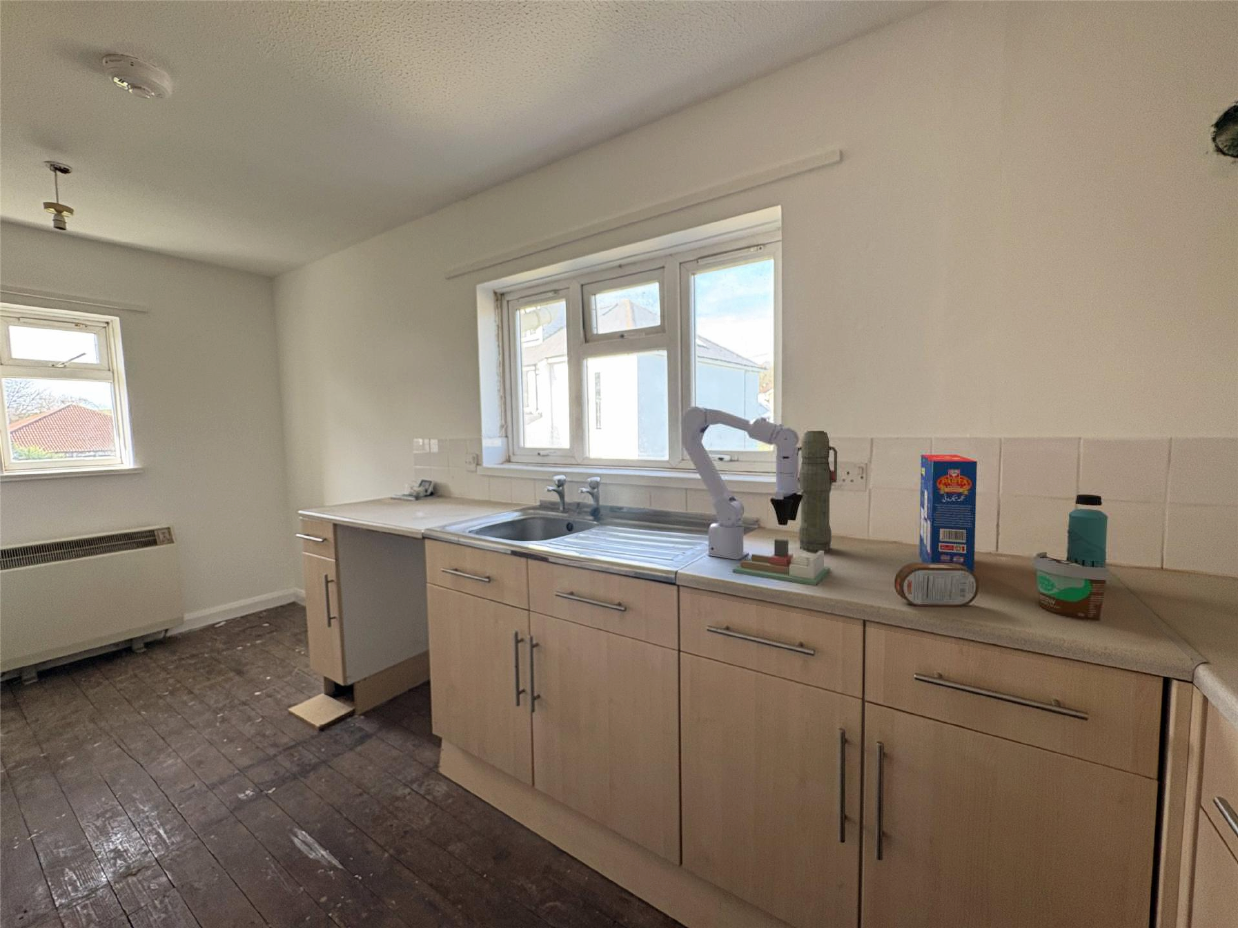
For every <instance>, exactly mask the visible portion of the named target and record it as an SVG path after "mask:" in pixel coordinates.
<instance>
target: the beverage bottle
mask: <svg viewBox="0 0 1238 928" xmlns="http://www.w3.org/2000/svg"><path fill="white" fill-rule="evenodd" d="M1075 498H1076V499H1075V504H1076V505H1081V506H1094V507H1095V506H1097V507H1099V506H1100V507H1101V506H1102V505H1103V502H1102V496H1101V495H1097V494H1085V493H1083V494H1082V493H1081V494H1077V495H1076V497H1075ZM1108 519H1109V515H1107V514H1105V513H1104V512H1103V511H1102V510H1098V509H1093V508H1092V509H1091V508H1076V509H1075V508H1074V509H1073V510H1072V511H1070V512H1069V513H1068V523H1067V527H1068V529H1067V530H1066V531H1067V532H1066V533H1067V535H1066V536H1067V537H1066V538H1067V547H1066V550H1065V551H1066V557H1065V558H1066V559H1065V561H1071V562H1076V563H1079V564H1081V565H1083V566H1086V567H1096V568H1107V566H1106V565H1107V538H1108V537H1107V533H1108Z"/></svg>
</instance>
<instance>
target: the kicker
mask: <svg viewBox="0 0 1238 928" xmlns="http://www.w3.org/2000/svg"><path fill="white" fill-rule="evenodd" d="M773 545H774V547H773V550H774V551H773V552H774V553H773V554H772V555H771V557H770V564H771V565H778V566H785V567H789V565H790V560H791V558H792V557H793V556H794V555H793V553H789V539H782V538H775V539H774V543H773Z"/></svg>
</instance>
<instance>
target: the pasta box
mask: <svg viewBox="0 0 1238 928" xmlns="http://www.w3.org/2000/svg"><path fill="white" fill-rule="evenodd" d="M977 471H978V461H977V460H975V459H971V458H969V457H968V458H967V457H965V456H962V455H959V454H920V490H919V491H920V499H919V500H920V501H919V544H918V545H919V548H918V550H919V551H918V553H919V557H920V559H921V560H920V561H921V563H955V564H960V565H962V566H964V567H965V568H967V569H968V570H970V571H971V572H973V573H974V574H975V555H976V554H975V551H976V549H975V548H976V517H977V515H976V514H977V512H976V511H977V509H976V508H977V477H978V476H977V475H978V474H977V473H978V472H977Z"/></svg>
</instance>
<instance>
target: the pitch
mask: <svg viewBox="0 0 1238 928" xmlns="http://www.w3.org/2000/svg"><path fill="white" fill-rule="evenodd" d="M771 556H772V555H771ZM771 556H770V555H765V554H764V555H763V554H756V553H751V557H750V558H748V559H747V560H744V559H743V560H741V561H740V563H739V564H738V565H736V566H735V567H734V568H732V573H736V572H737V574H742V575H743V574H744V575H748V576H754V577H763V578H766V579H772V580H773V579H774V580H778V581H787V582H791V581H792V582H793V583H799V584H804V583H806V584H805V585H810V584H811V585H812V586H817V585H816V584H817V583H818V582H819V583H820V582H821V580H823V579H824V577H826V575H828V573H829V572H830V571H831V566H830V567H829V566H824V569H823V570H822V571H821V572H820V573H819V574H818V575H817V576H816V577H815V578H814V579H810V578H804V577H797V576H791V575H789V567H785V566H778V565H771V564H770V557H771ZM811 585H810V586H811Z"/></svg>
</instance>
